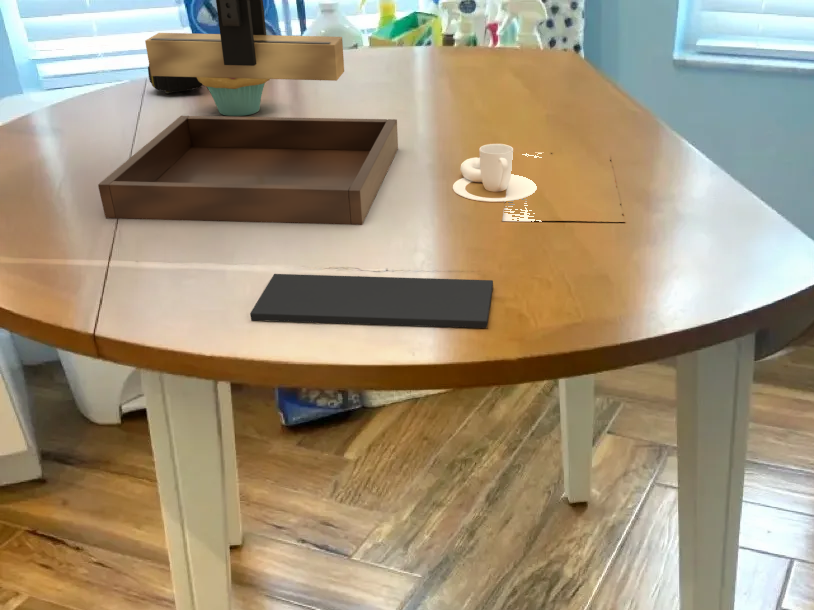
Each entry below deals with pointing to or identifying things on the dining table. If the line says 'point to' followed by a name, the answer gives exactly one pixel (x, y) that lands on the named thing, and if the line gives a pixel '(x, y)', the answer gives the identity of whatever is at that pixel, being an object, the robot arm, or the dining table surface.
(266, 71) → the grooved wooden beam
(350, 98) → the dining table surface
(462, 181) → the teacup and saucer
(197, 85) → the tape measure
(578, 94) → the dining table surface
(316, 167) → the box
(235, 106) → the cupcake
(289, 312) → the mat
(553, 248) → the dining table surface
